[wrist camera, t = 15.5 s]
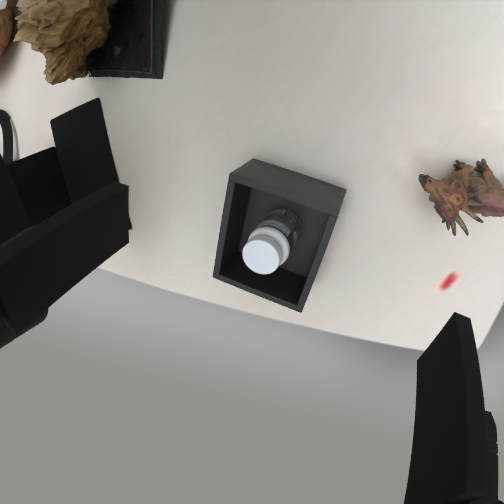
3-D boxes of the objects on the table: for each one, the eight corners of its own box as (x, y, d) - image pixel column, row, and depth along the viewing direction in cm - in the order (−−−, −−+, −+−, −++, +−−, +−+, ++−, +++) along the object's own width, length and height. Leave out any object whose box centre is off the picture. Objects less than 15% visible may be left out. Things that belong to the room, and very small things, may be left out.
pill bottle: (291, 249, 41) (271, 286, 34) (259, 230, 42) (232, 263, 35) (309, 220, 38) (291, 253, 32) (274, 200, 39) (249, 228, 32)
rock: (170, -92, 19) (69, -105, 8) (167, 78, 38) (85, 133, 27) (54, -57, 22) (-37, -35, 12) (63, 76, 41) (-11, 123, 30)
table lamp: (44, 113, 46) (-146, 201, 14) (158, 61, 35) (-176, 156, 3) (79, 238, 58) (-77, 360, 25) (196, 238, 47) (-23, 458, 14)
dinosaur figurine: (413, 210, 34) (422, 247, 26) (410, 159, 31) (421, 183, 24) (516, 208, 28) (547, 243, 20) (518, 159, 26) (554, 183, 18)
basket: (253, 158, 38) (229, 173, 33) (346, 189, 36) (339, 210, 30) (234, 251, 46) (212, 277, 40) (313, 281, 43) (301, 313, 38)
